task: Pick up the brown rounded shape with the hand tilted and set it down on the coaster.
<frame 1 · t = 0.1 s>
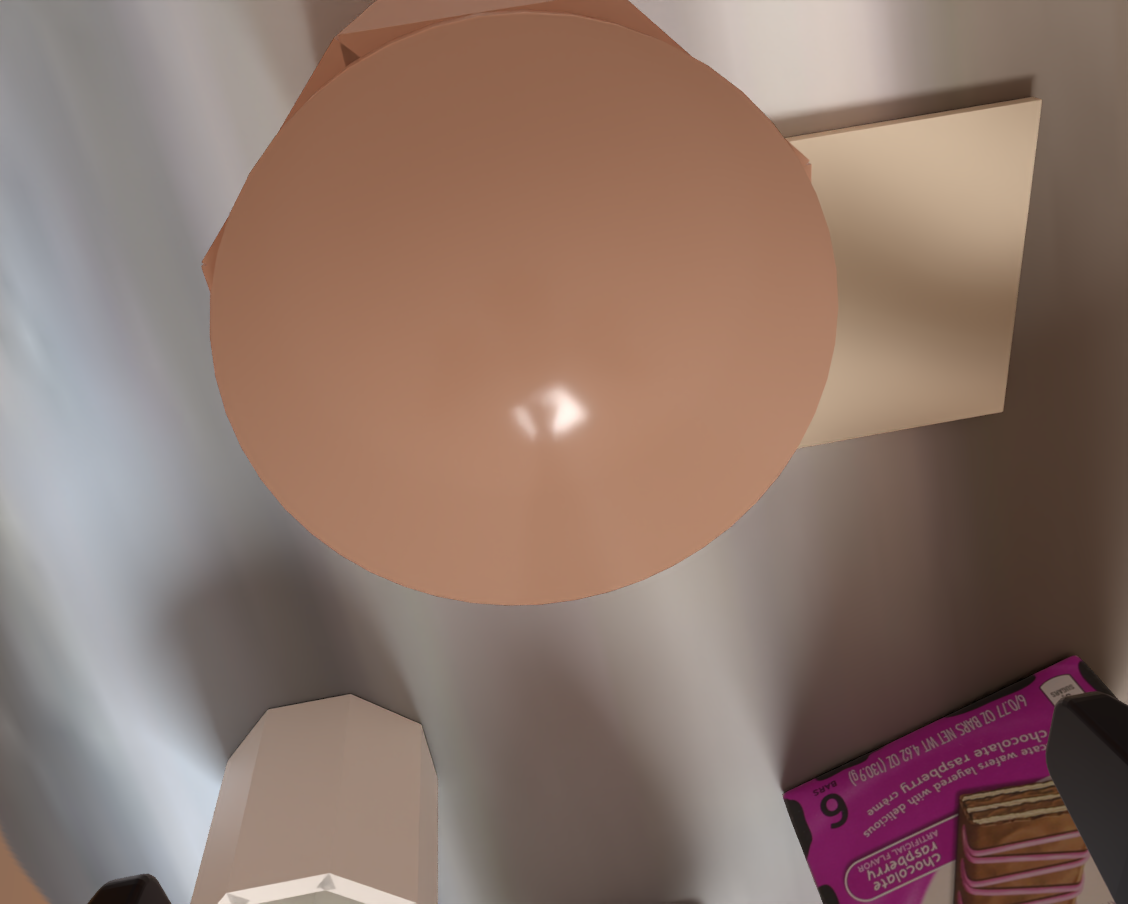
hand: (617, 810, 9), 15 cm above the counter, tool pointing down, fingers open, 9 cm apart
coaster: (857, 291, 22), on the counter
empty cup: (335, 770, 28), on the counter
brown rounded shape: (485, 140, 20), on the counter
candy bar box: (935, 754, 32), on the counter
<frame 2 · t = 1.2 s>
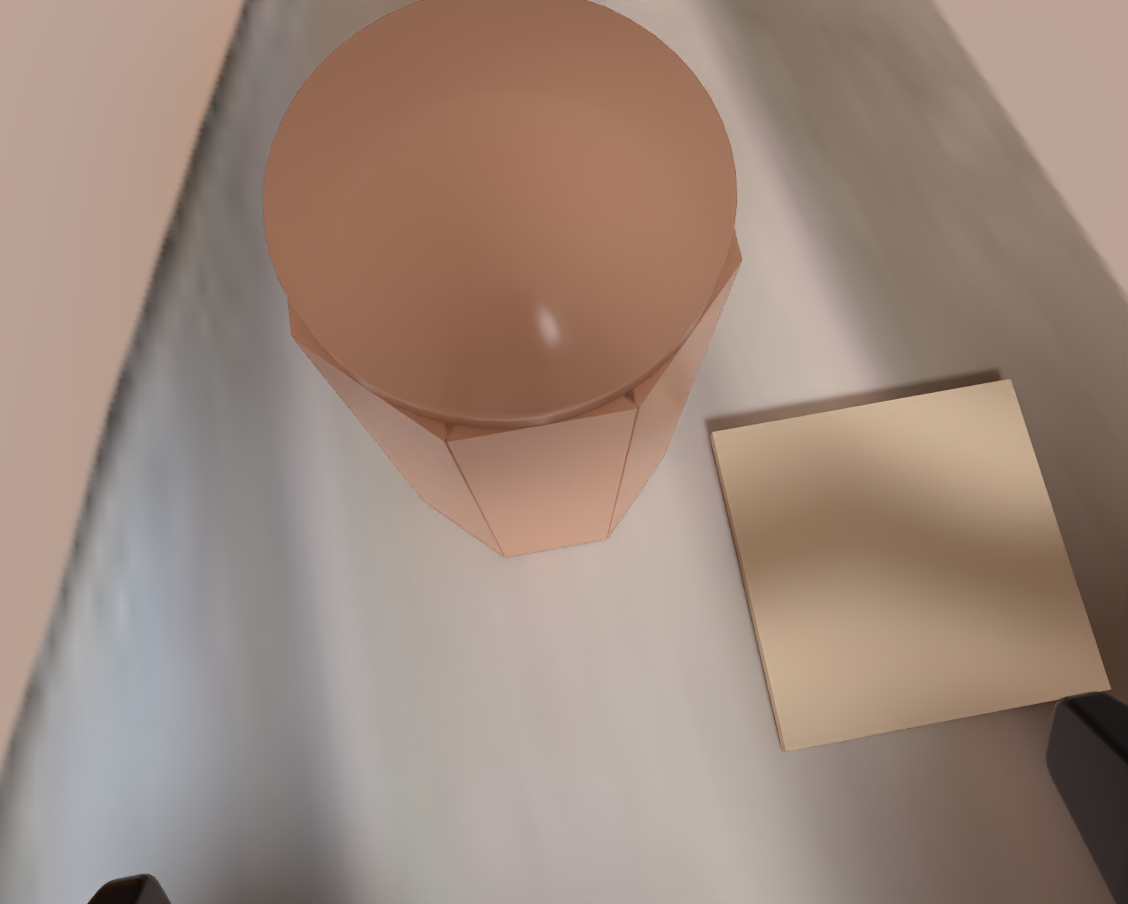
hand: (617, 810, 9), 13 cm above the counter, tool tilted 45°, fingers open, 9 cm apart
coaster: (898, 558, 23), on the counter
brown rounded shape: (534, 429, 24), on the counter
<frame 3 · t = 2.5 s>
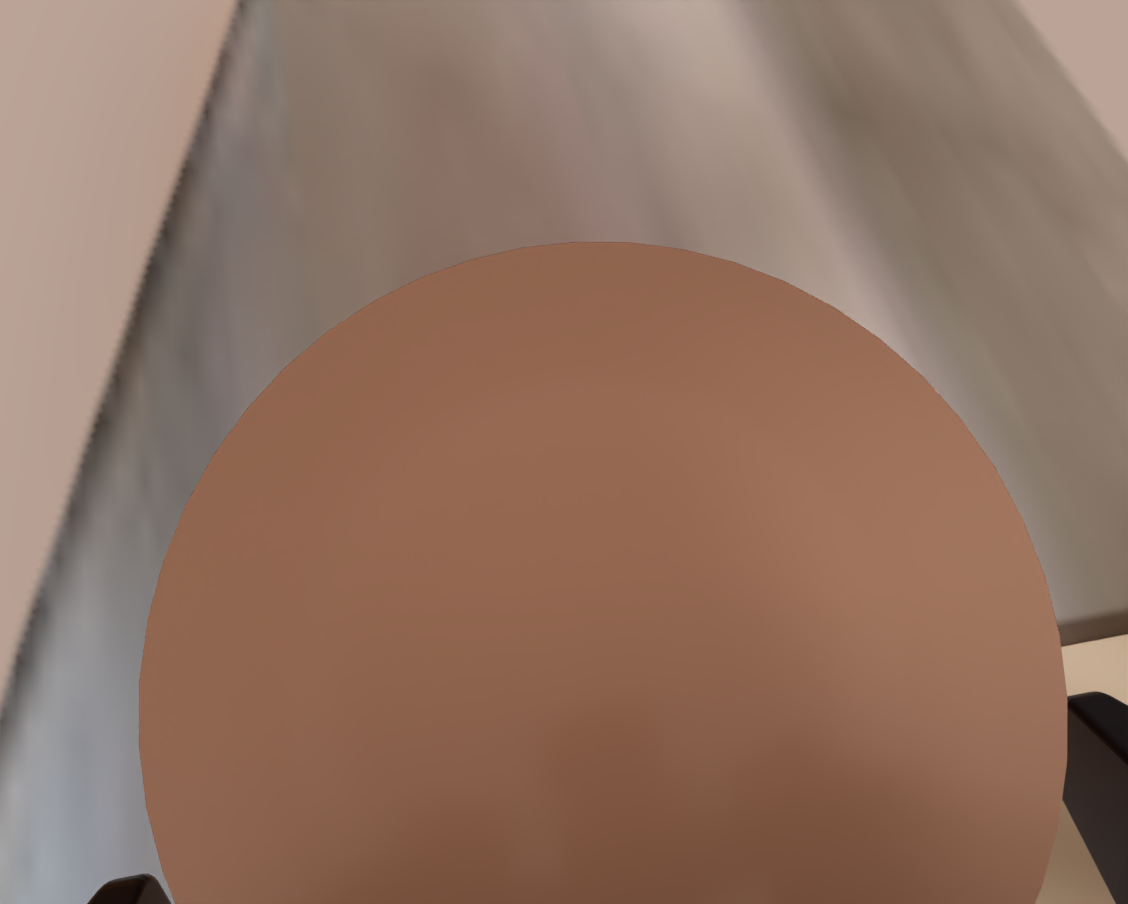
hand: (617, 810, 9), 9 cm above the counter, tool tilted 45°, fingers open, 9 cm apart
coaster: (1078, 871, 17), on the counter
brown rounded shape: (582, 683, 18), on the counter
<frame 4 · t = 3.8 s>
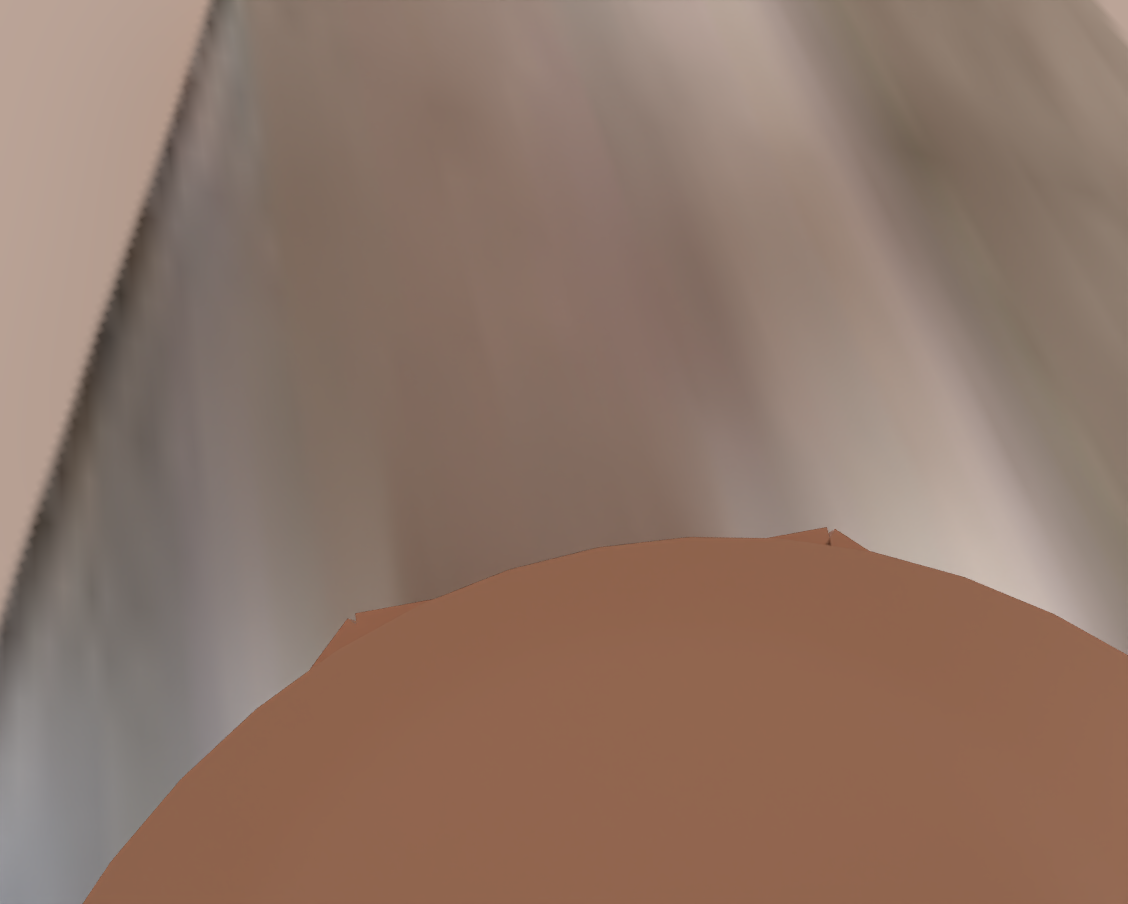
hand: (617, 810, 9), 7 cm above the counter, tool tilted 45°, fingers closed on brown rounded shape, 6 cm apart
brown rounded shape: (613, 846, 15), on the counter, touching gripper
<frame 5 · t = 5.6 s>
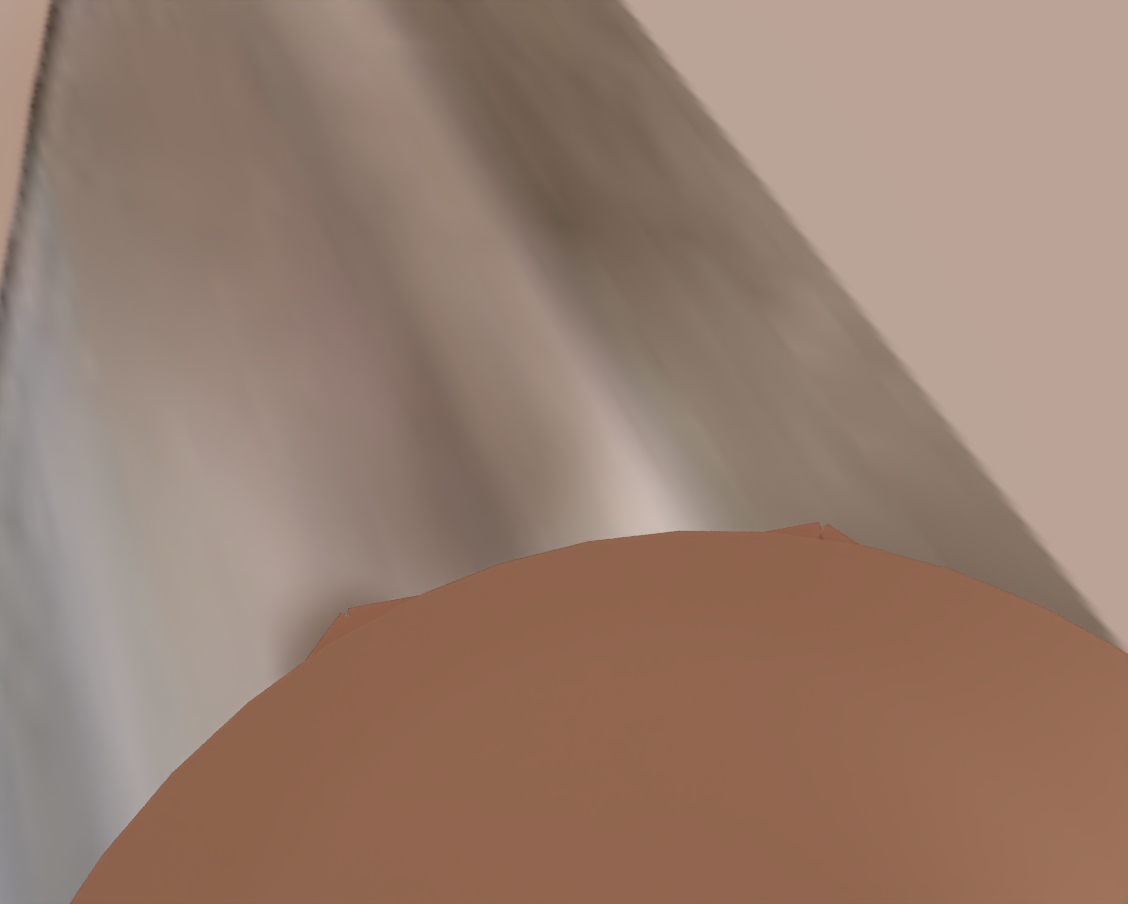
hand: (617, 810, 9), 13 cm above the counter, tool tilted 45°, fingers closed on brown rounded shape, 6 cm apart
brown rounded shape: (611, 844, 15), point 6 cm above the counter, touching gripper
when the fingers open (8 cm above the counter, at t = 7.5 s): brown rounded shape drops 1 cm, resting on coaster.
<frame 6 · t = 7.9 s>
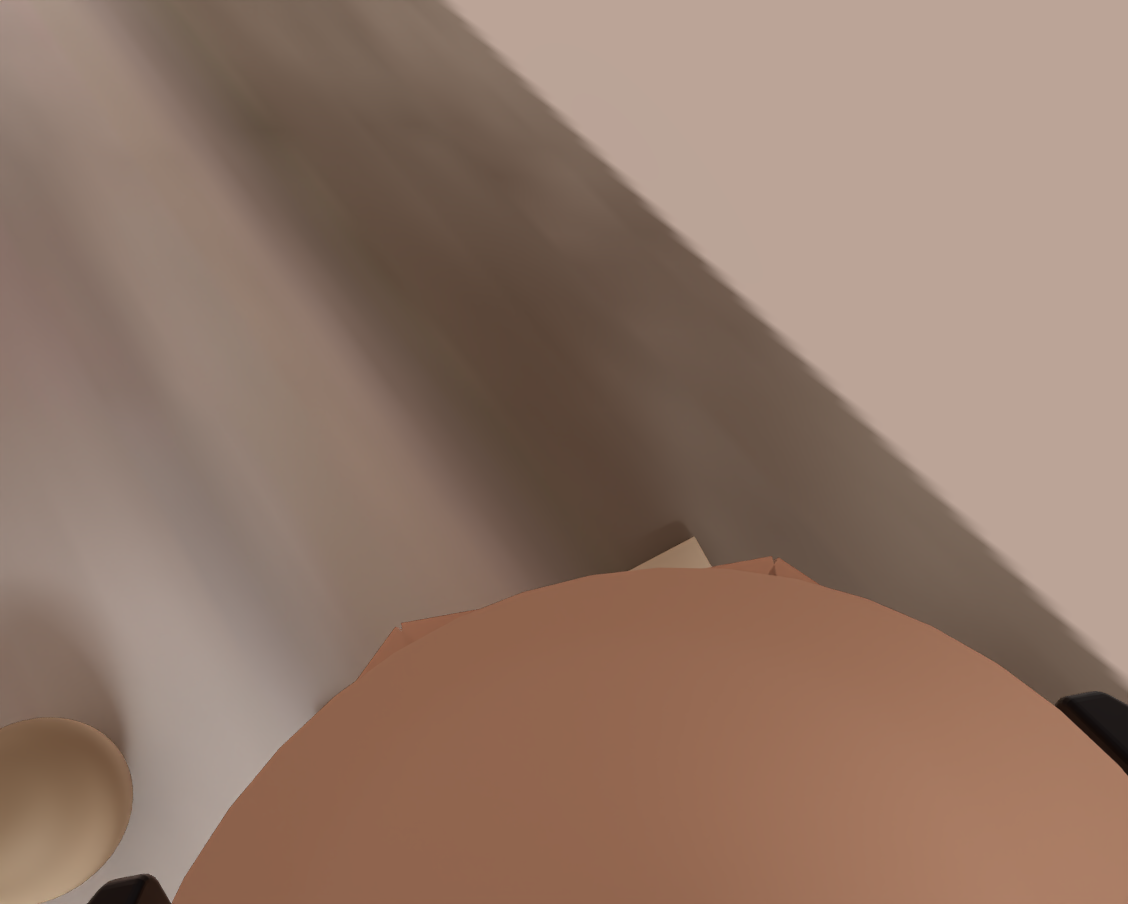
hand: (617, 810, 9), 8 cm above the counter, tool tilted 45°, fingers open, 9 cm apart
coaster: (609, 829, 17), on the counter
wooden ball: (35, 808, 15), on the counter
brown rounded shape: (609, 830, 16), resting on coaster
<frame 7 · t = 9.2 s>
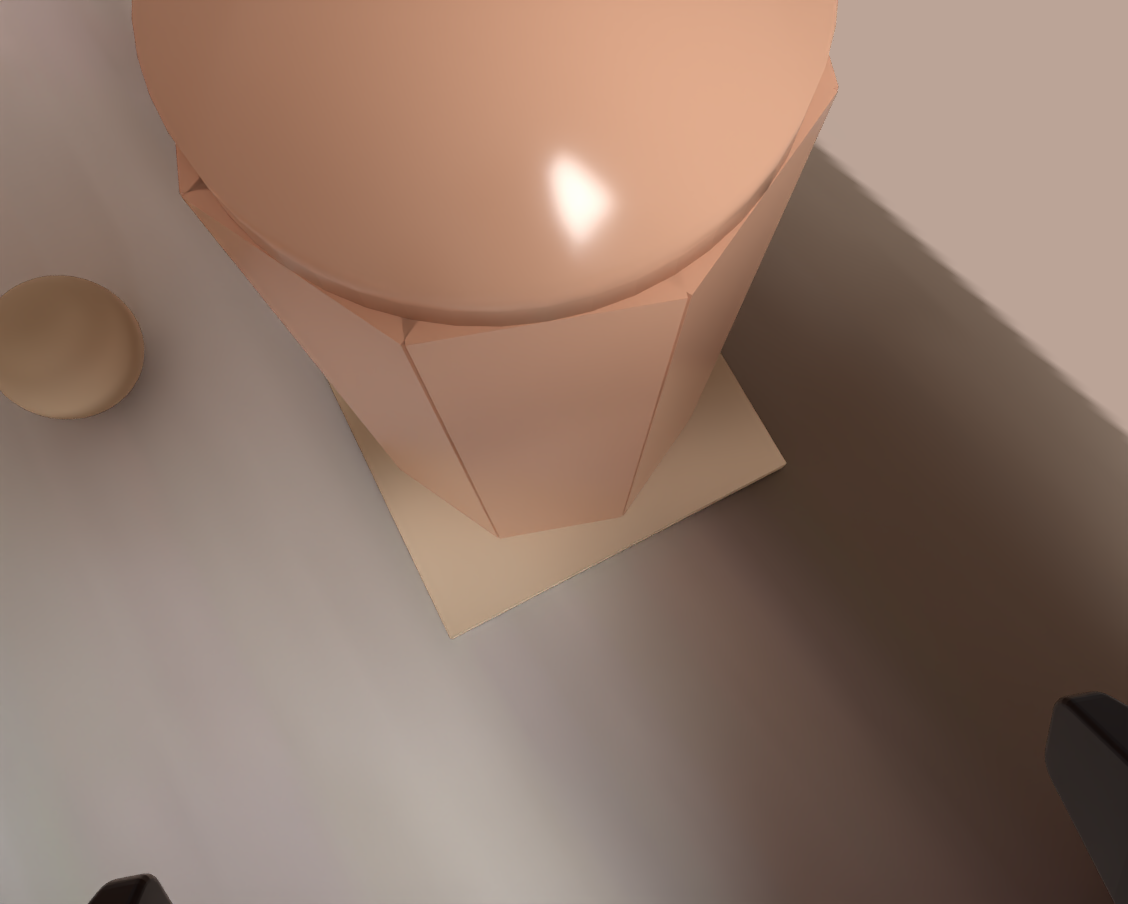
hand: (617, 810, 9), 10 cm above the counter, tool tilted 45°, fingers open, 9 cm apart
coaster: (536, 393, 20), on the counter
wooden ball: (65, 348, 19), on the counter
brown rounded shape: (535, 385, 20), resting on coaster
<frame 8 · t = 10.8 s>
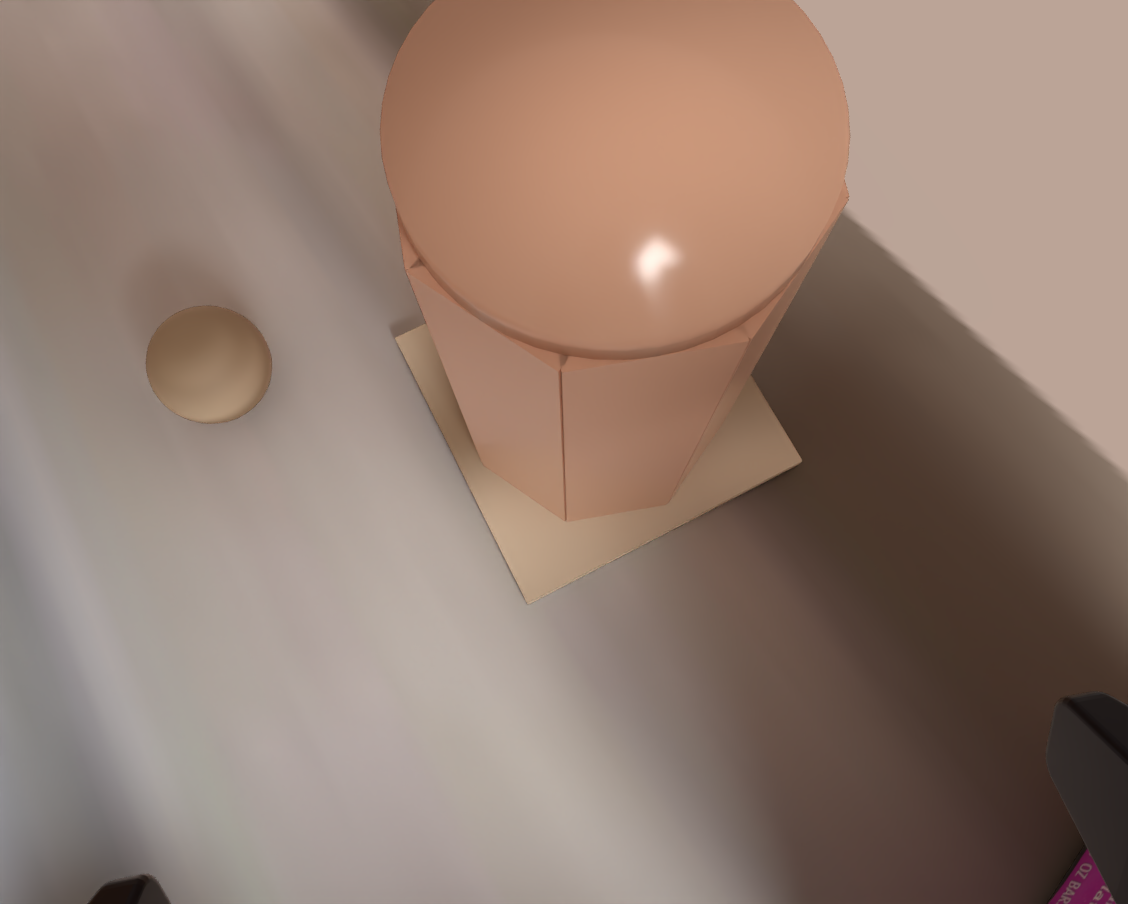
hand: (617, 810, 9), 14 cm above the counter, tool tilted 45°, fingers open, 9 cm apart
coaster: (594, 402, 24), on the counter
wooden ball: (210, 365, 23), on the counter
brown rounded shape: (594, 396, 24), resting on coaster
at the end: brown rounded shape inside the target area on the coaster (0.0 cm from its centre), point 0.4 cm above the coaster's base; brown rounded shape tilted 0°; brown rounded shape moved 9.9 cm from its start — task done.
